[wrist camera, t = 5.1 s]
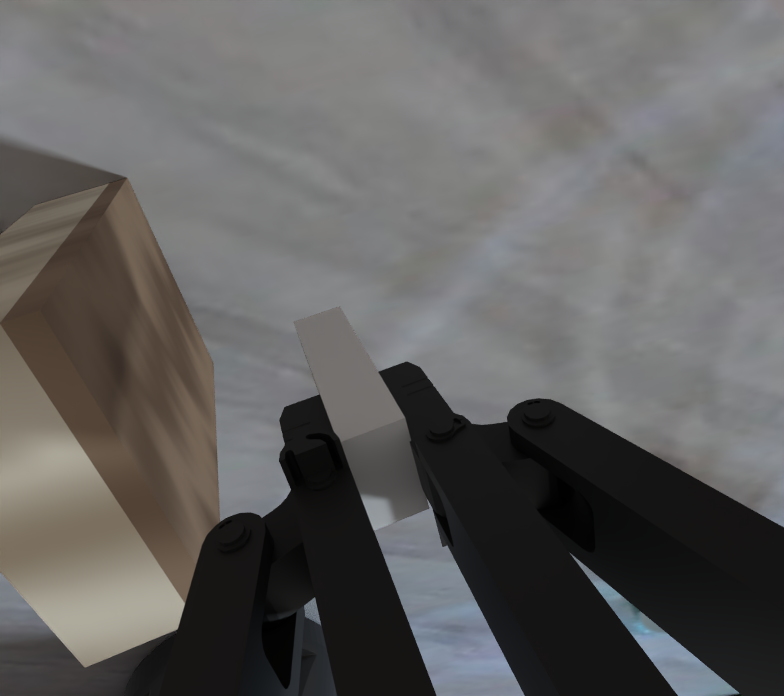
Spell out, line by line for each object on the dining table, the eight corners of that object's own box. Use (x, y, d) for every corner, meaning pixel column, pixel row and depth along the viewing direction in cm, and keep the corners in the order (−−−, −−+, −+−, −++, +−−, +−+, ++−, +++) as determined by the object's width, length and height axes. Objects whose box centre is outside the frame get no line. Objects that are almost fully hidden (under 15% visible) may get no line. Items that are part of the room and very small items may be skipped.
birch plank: (213, 363, 30) (223, 609, 17) (138, 389, 30) (84, 667, 16) (127, 177, 25) (40, 310, 12) (35, 204, 25) (-171, 378, 11)
